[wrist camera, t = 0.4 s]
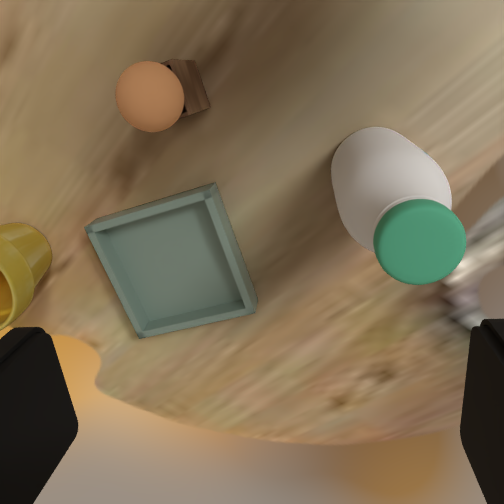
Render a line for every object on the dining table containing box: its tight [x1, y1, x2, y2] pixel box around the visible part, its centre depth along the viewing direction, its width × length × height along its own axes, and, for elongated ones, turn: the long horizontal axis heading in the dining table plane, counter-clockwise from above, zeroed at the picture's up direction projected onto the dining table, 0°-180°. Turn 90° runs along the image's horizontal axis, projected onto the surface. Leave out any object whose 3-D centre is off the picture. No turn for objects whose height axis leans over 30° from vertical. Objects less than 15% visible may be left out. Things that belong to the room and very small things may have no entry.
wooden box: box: [161, 59, 211, 119], centre depth 37 cm, size 4×4×7 cm
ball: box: [116, 61, 184, 132], centre depth 32 cm, size 5×5×5 cm
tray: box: [84, 183, 258, 339], centre depth 46 cm, size 14×14×3 cm
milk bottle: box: [331, 127, 466, 285], centre depth 31 cm, size 8×8×20 cm
